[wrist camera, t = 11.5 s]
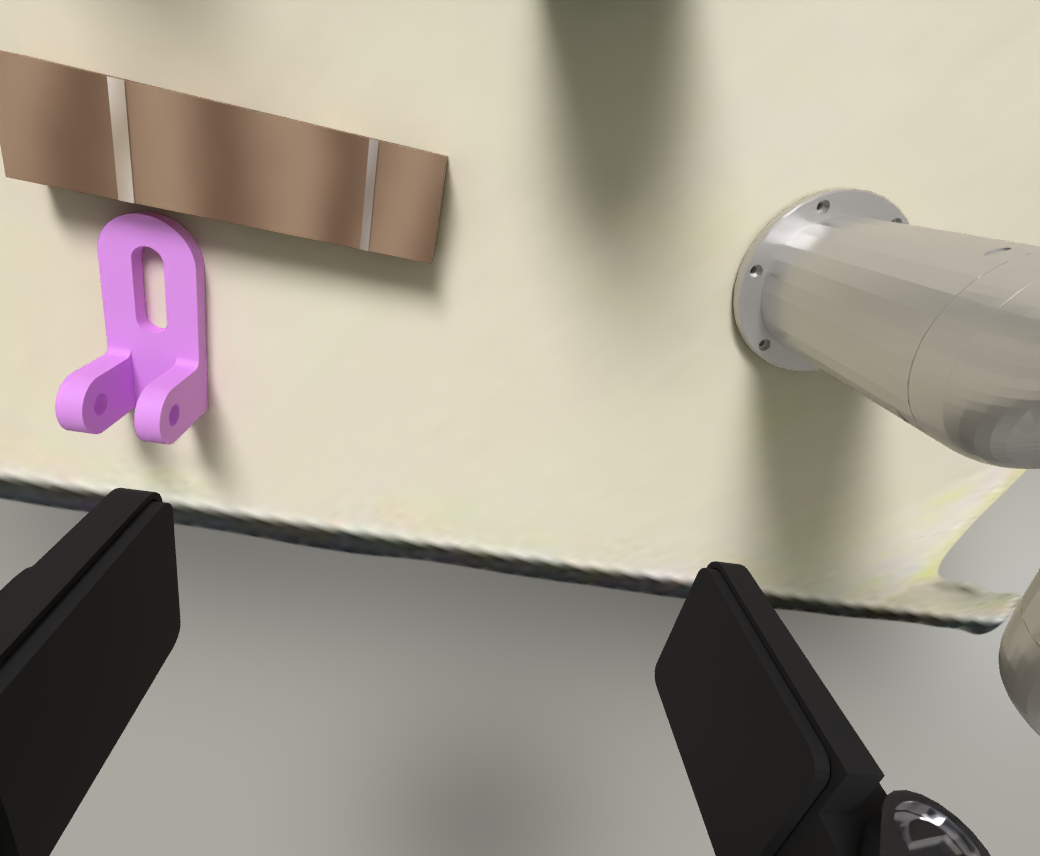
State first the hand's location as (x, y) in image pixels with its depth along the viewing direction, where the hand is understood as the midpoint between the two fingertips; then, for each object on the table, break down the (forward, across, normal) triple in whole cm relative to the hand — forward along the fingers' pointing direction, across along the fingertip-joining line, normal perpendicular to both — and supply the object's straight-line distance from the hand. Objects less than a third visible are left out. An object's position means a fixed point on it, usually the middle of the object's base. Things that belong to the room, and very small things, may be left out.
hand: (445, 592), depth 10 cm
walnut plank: (+30, +14, -4) cm, 33 cm away
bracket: (+31, +19, +7) cm, 37 cm away
